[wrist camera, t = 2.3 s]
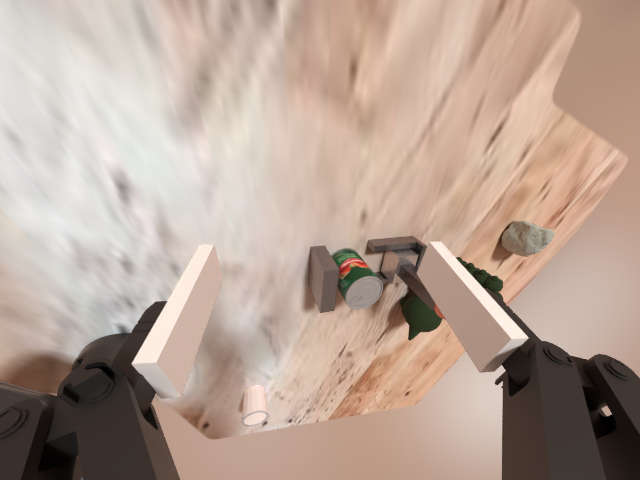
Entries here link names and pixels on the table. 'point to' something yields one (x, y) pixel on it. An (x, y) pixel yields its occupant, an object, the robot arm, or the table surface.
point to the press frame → (327, 271)
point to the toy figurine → (427, 319)
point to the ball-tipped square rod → (407, 274)
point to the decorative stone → (526, 238)
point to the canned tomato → (356, 280)
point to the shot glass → (254, 406)
